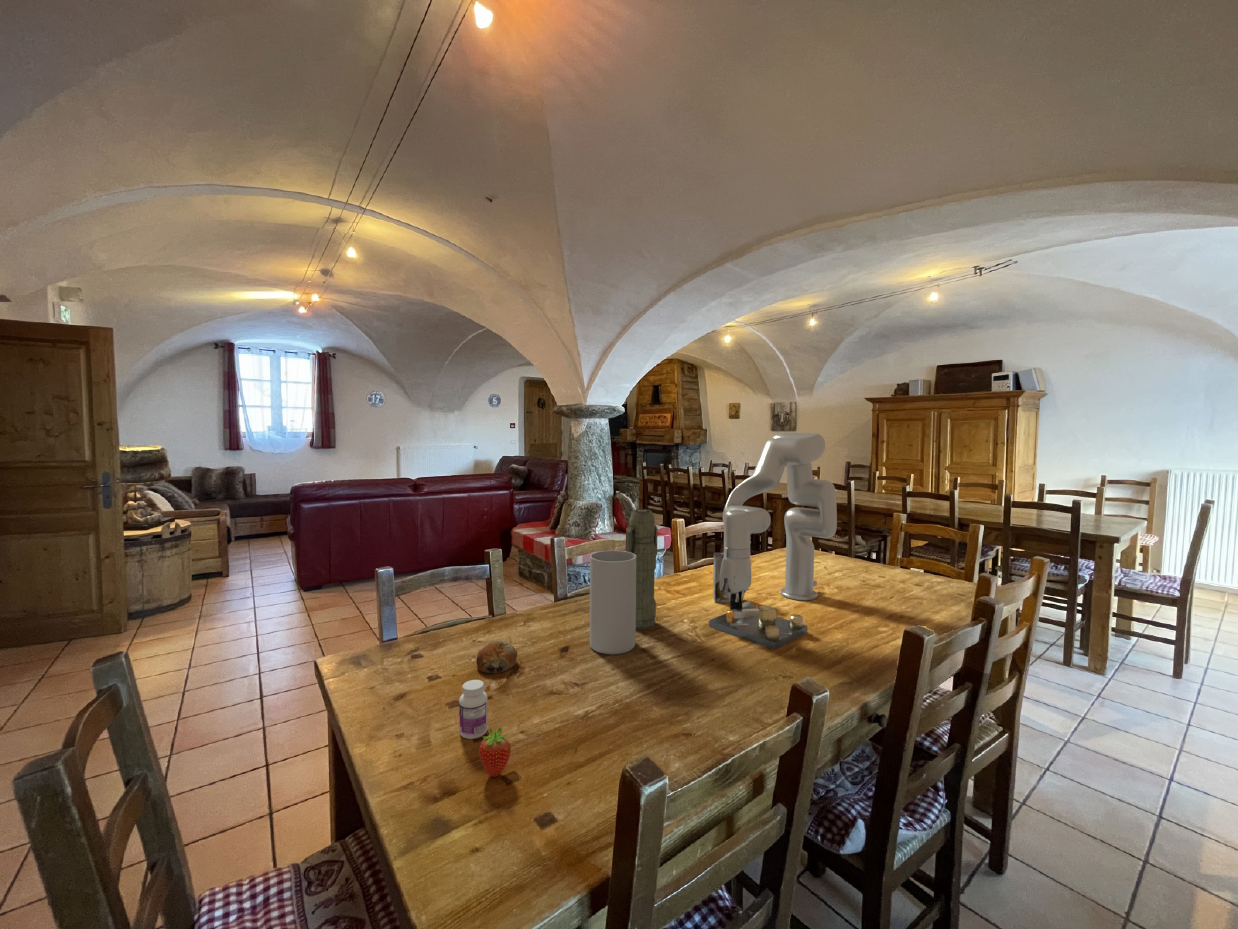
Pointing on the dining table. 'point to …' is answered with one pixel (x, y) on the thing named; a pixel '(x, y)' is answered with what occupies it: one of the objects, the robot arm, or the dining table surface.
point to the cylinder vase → (612, 601)
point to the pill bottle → (473, 710)
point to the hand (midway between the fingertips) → (736, 613)
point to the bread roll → (496, 656)
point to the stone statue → (643, 564)
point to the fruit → (494, 752)
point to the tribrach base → (762, 629)
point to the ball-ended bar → (754, 615)
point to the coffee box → (718, 580)
